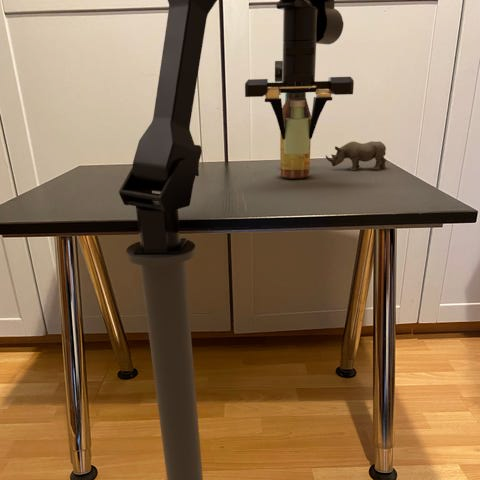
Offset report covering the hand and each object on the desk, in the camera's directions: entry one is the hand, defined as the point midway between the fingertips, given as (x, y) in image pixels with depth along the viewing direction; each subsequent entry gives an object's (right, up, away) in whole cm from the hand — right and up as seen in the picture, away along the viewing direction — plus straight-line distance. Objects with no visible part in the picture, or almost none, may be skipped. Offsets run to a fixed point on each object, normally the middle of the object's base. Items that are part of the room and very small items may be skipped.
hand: (297, 139), depth 89 cm
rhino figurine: (+16, +1, +21) cm, 26 cm away
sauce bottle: (+1, -3, +14) cm, 14 cm away
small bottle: (0, -2, +1) cm, 2 cm away
